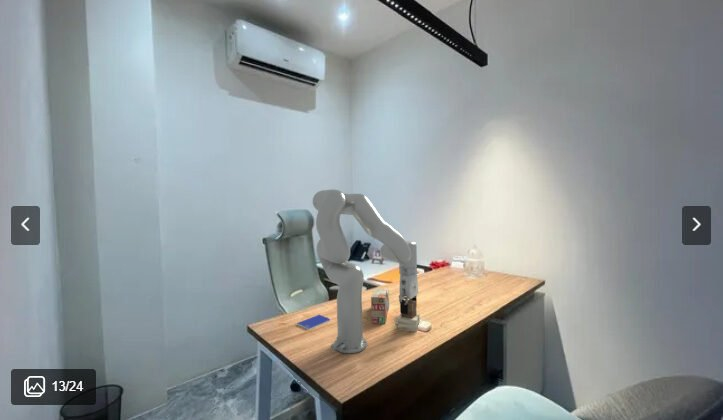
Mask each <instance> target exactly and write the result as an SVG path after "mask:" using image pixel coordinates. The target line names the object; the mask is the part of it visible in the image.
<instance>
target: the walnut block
mask: <svg viewBox="0 0 723 420" xmlns="http://www.w3.org/2000/svg"><path fill="white" fill-rule="evenodd" d="M405 300H406V299H404V301H405ZM407 304H408V314H403V313H400V314H401V317H405V318H410V319H413V318H414V317H415V316H416V315H417V313H418V312H417V306H416V301H412V300H409V299H408V301H407Z"/></svg>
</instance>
